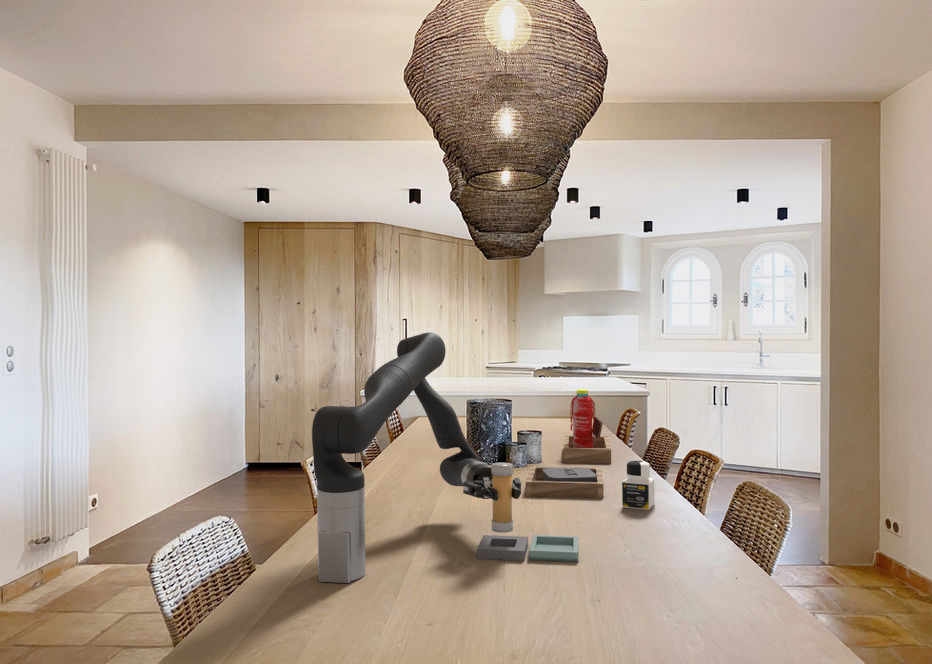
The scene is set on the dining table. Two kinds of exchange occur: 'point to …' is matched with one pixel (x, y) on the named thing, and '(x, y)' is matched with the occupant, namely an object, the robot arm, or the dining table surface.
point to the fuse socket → (502, 547)
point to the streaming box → (569, 474)
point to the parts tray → (554, 548)
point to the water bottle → (584, 420)
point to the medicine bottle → (638, 486)
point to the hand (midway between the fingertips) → (506, 494)
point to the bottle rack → (588, 451)
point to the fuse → (502, 497)
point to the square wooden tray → (563, 485)
